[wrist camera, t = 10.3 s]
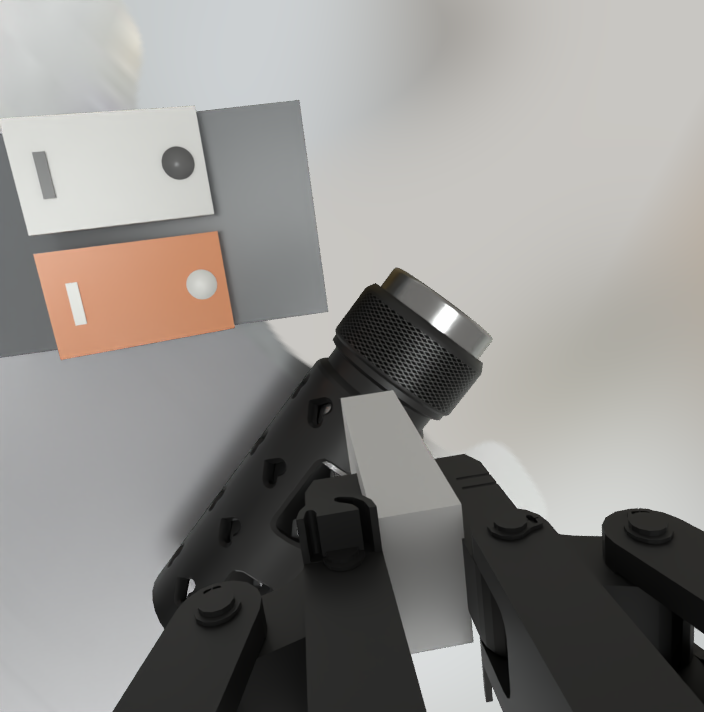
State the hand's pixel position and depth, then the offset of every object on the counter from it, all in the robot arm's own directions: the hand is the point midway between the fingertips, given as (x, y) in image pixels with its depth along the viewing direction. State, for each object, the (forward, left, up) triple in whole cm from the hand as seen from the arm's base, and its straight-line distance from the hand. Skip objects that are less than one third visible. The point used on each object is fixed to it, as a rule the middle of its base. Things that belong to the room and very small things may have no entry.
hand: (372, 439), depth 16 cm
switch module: (-14, +7, -27) cm, 31 cm away
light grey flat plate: (-11, +10, -20) cm, 25 cm away
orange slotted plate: (-11, +3, -20) cm, 23 cm away
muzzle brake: (-2, -10, -27) cm, 29 cm away
